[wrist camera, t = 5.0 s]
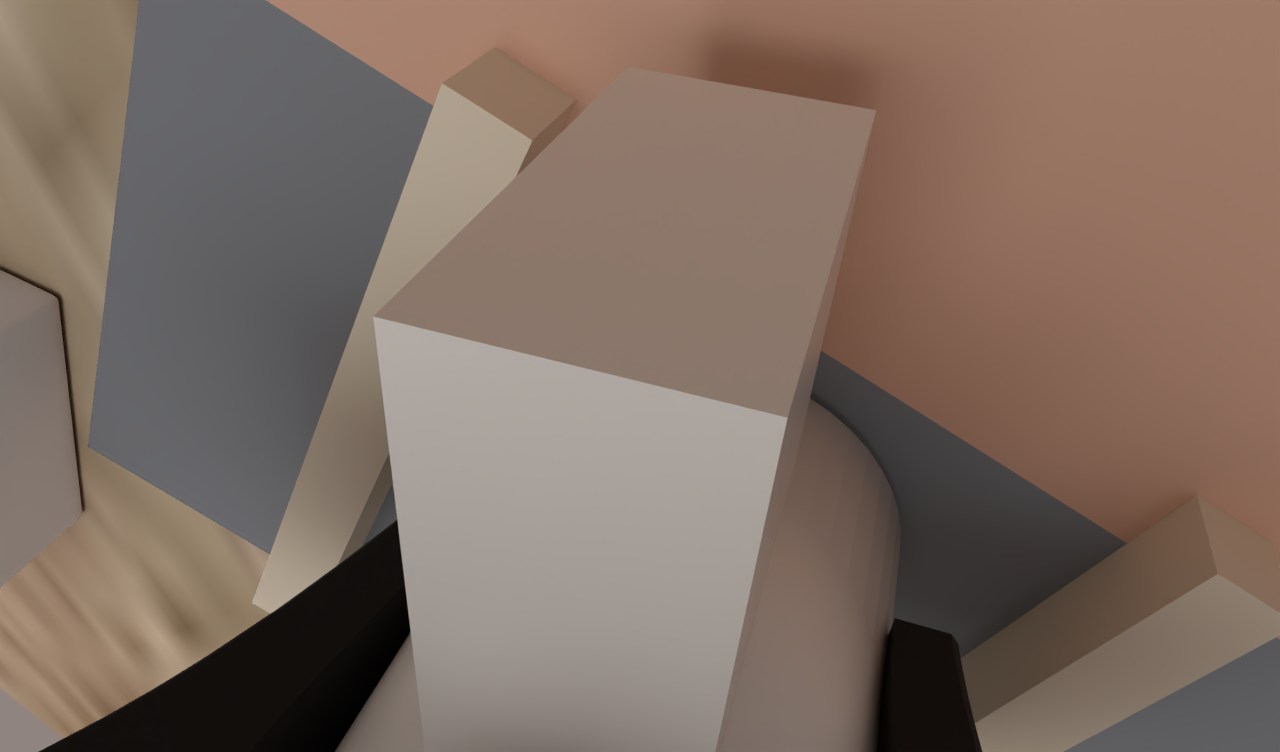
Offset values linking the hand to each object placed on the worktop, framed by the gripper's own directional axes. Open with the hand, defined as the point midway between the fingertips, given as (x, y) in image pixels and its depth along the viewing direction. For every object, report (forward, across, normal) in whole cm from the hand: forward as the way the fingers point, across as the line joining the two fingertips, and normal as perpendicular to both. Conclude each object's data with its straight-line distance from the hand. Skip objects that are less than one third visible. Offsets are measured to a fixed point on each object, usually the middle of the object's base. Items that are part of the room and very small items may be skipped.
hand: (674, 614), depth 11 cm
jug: (+2, 0, -1) cm, 2 cm away
